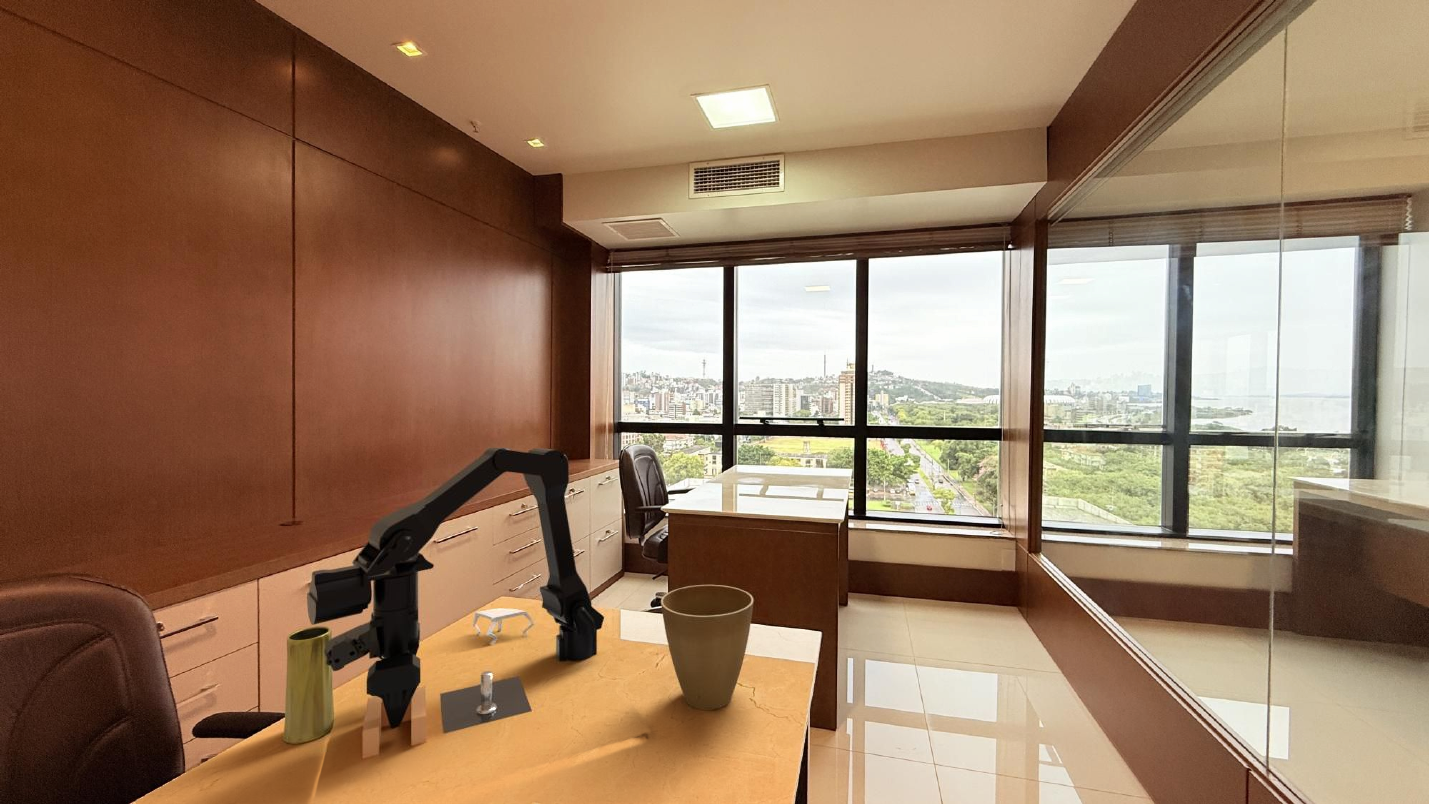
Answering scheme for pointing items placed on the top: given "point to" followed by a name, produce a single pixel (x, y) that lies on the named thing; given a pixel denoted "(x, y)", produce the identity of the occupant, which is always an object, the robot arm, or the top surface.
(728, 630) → the plant pot
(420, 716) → the c link
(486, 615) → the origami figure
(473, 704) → the peg stand
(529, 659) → the top surface
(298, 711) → the vase
